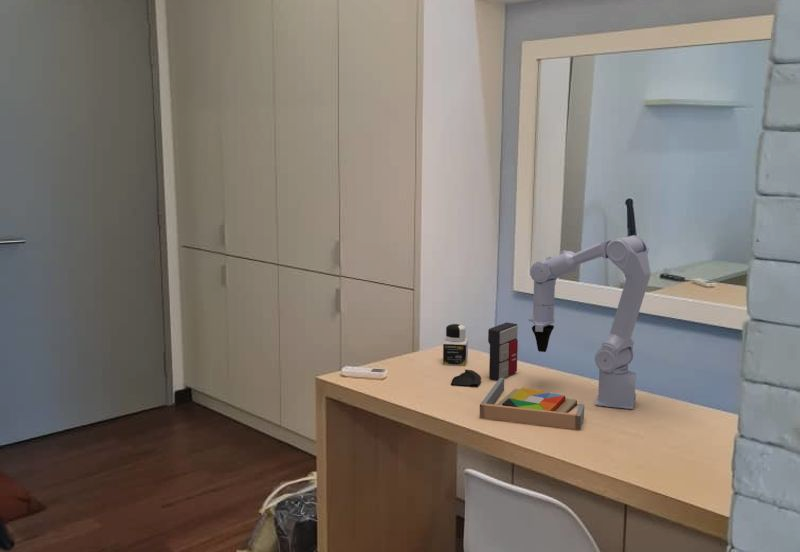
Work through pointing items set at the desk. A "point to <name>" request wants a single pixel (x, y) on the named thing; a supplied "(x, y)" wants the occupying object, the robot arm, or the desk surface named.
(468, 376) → the dark sector wedge
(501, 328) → the grey and red box
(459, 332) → the medicine bottle
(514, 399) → the wooden puzzle
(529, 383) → the desk surface
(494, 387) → the bay
